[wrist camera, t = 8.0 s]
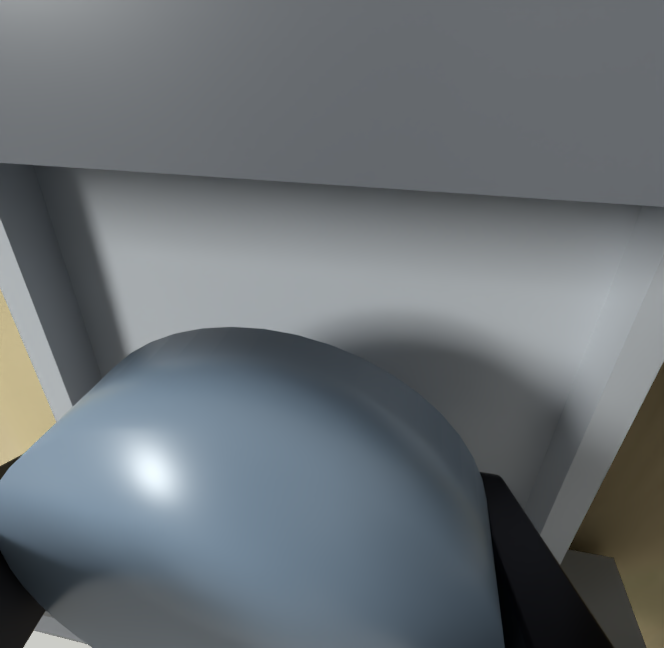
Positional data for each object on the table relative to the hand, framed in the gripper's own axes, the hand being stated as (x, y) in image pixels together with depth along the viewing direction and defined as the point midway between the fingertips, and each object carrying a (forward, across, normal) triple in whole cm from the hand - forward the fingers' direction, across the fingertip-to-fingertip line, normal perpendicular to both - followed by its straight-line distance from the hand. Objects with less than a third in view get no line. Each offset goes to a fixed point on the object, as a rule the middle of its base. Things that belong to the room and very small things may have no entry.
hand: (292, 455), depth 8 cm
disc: (-1, 0, 0) cm, 1 cm away
